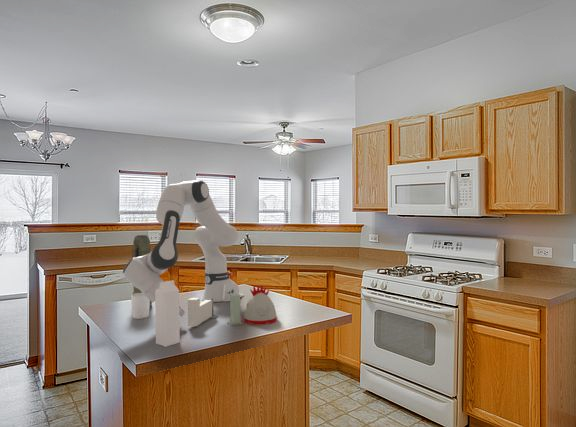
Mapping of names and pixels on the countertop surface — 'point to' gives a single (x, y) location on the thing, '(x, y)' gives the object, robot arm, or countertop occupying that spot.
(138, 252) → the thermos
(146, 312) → the white cup
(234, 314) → the latch post
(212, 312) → the hinge post
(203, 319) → the cream l-shaped block
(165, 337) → the milk
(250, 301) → the kitchen timer
